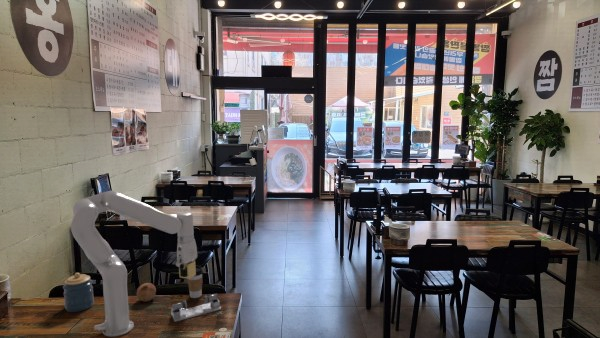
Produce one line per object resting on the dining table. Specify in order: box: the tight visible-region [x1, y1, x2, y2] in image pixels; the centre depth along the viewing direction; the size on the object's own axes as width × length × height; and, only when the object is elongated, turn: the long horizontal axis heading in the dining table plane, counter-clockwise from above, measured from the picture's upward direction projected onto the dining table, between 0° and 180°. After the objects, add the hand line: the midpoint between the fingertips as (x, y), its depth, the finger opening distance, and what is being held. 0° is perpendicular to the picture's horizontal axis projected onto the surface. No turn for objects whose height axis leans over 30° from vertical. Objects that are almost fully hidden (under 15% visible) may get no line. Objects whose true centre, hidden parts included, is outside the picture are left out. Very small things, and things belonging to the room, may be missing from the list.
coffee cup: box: [187, 265, 204, 299], centre depth 206 cm, size 8×8×15 cm
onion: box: [136, 282, 157, 303], centre depth 202 cm, size 10×9×10 cm
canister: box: [62, 272, 95, 313], centre depth 196 cm, size 13×13×18 cm
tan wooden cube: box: [178, 260, 197, 280], centre depth 191 cm, size 6×6×7 cm
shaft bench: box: [170, 293, 222, 323], centre depth 189 cm, size 22×8×7 cm, turn 121°
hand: (187, 273), depth 192 cm, fingers closed on tan wooden cube, 5 cm apart
